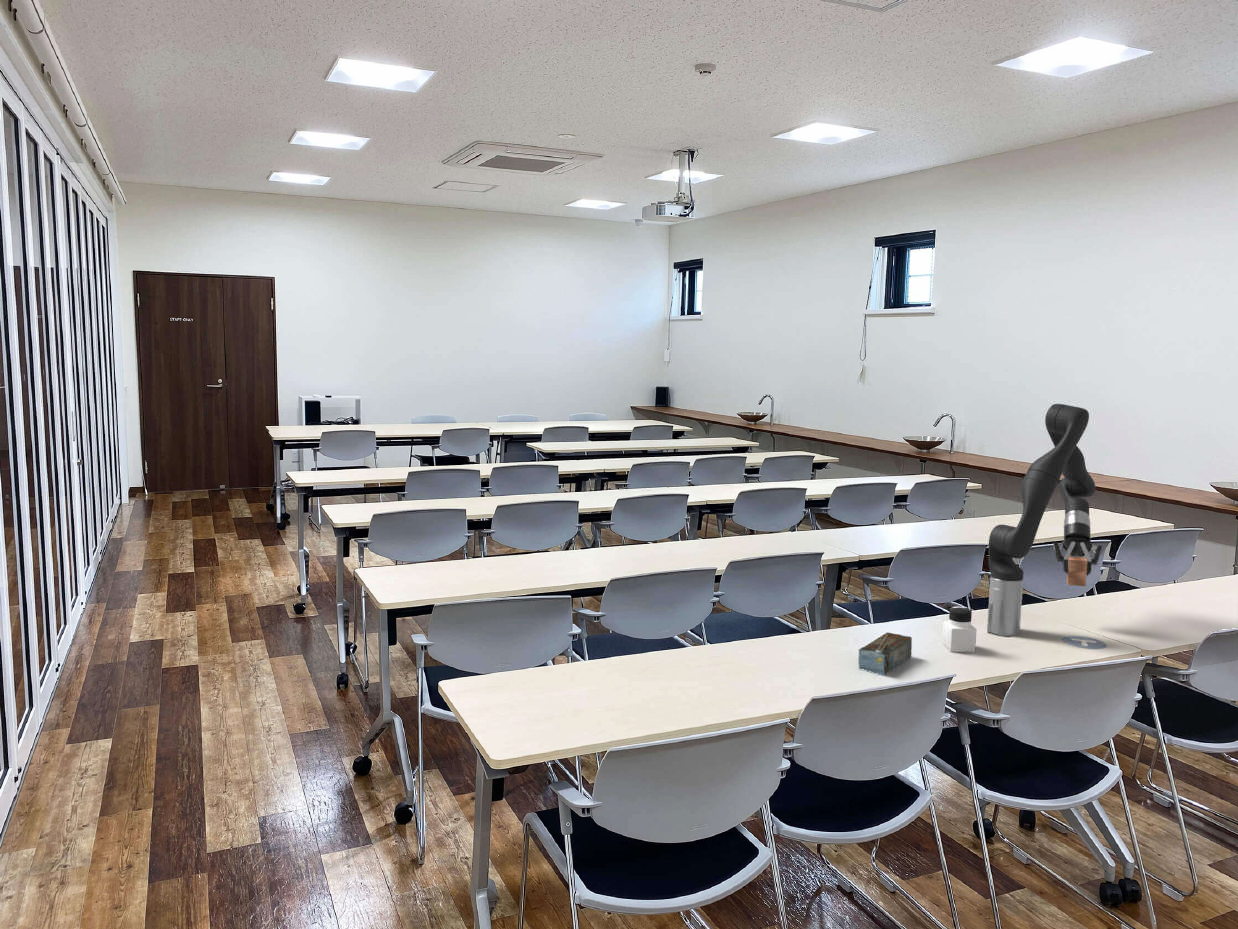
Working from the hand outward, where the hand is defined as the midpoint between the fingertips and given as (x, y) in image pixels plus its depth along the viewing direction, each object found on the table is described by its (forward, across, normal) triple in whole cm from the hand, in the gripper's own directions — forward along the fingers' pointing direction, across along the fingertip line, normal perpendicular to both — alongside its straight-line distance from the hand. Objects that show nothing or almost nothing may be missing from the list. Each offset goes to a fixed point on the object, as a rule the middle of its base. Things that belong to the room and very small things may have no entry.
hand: (1077, 573), depth 271 cm
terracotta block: (+1, 0, +4) cm, 4 cm away
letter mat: (+22, +2, +3) cm, 23 cm away
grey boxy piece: (+52, -50, -27) cm, 77 cm away
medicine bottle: (+37, -32, -12) cm, 50 cm away
